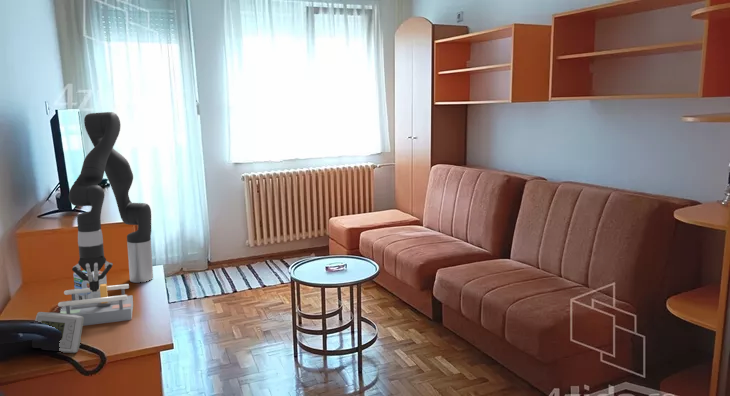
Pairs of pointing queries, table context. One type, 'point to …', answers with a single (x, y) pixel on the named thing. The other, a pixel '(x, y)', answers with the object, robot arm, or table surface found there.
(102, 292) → the breaker toggle
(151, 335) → the table surface
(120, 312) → the breaker panel
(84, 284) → the light bulb box
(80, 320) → the digital clock
